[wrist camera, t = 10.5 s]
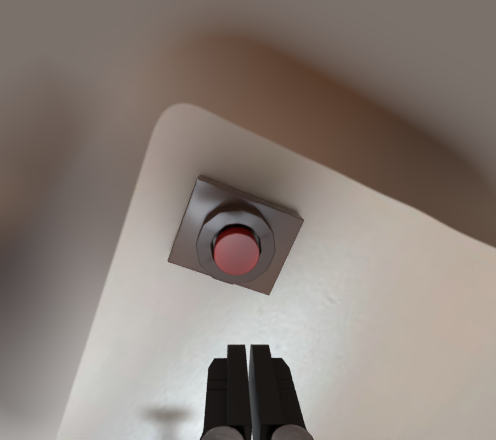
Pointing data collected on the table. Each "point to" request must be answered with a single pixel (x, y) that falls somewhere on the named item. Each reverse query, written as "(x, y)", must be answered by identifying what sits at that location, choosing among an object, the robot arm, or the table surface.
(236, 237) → the button
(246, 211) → the control block
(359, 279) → the table surface
